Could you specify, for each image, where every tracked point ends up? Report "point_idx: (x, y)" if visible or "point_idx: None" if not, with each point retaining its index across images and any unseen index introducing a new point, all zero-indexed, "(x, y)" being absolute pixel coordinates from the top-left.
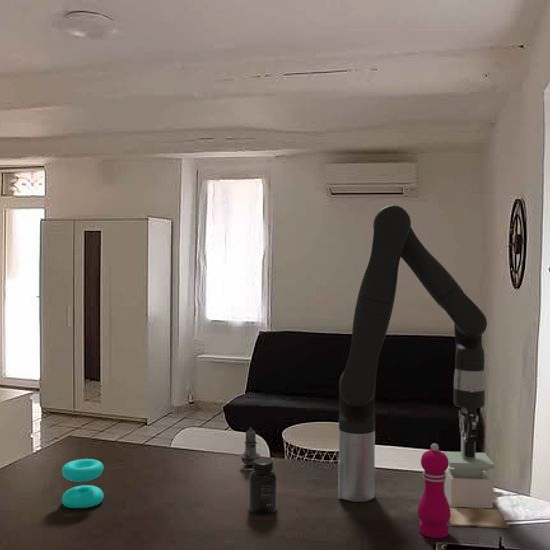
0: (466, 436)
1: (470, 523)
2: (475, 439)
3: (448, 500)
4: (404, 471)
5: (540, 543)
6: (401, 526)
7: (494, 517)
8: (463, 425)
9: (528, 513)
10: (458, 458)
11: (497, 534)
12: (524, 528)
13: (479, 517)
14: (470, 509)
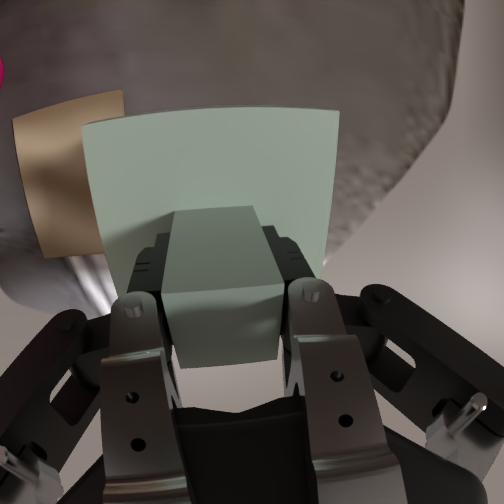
0: (111, 341)
1: (26, 168)
2: (72, 377)
3: (192, 107)
4: (451, 49)
5: (9, 295)
6: (5, 5)
7: (82, 232)
8: (102, 429)
9: None
10: (185, 184)
11: (7, 226)
12: (59, 285)
13: (68, 193)
14: None
